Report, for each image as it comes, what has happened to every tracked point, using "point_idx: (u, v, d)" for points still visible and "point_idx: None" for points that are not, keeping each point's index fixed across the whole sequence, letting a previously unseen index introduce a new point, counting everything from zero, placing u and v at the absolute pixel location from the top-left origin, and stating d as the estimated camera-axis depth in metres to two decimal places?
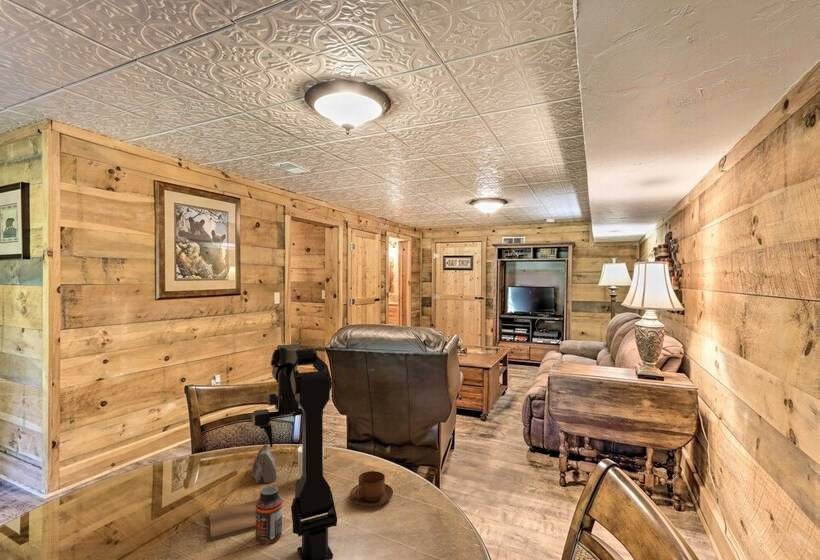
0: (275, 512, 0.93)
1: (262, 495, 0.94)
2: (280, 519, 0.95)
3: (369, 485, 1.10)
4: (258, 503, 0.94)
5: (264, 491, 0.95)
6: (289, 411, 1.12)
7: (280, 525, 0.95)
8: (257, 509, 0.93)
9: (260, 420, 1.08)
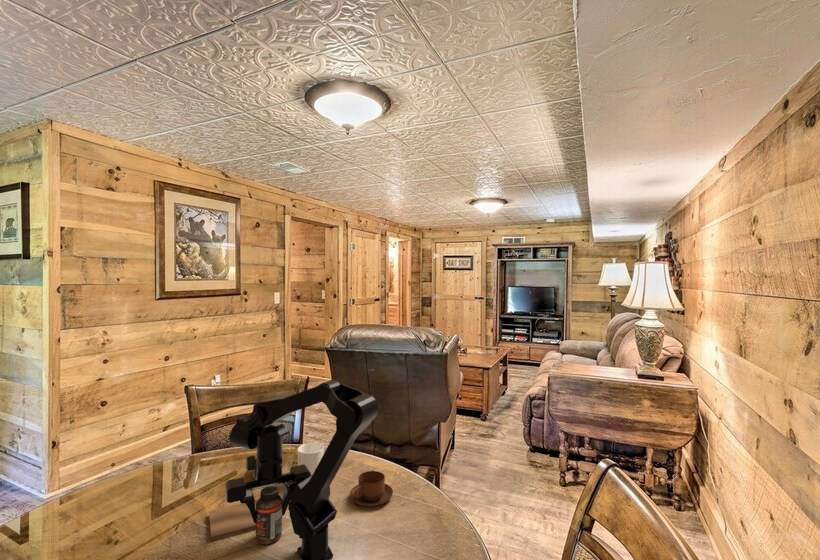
0: (275, 512, 0.93)
1: (262, 495, 0.94)
2: (280, 519, 0.95)
3: (369, 485, 1.10)
4: (258, 503, 0.94)
5: (264, 491, 0.95)
6: (270, 481, 0.93)
7: (280, 525, 0.95)
8: (257, 509, 0.93)
9: (234, 495, 0.89)
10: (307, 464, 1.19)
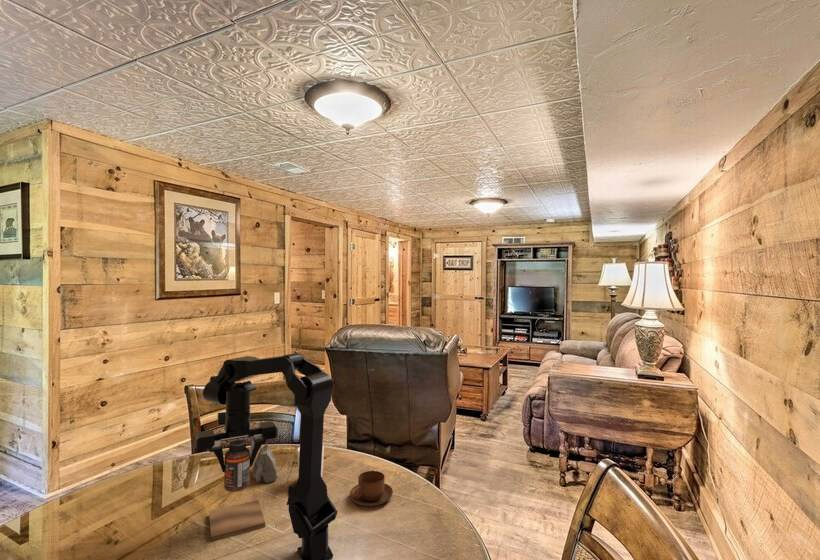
0: (242, 462, 1.00)
1: (230, 446, 1.00)
2: (247, 469, 1.02)
3: (369, 485, 1.10)
4: (226, 454, 1.00)
5: (233, 443, 1.01)
6: (237, 433, 1.00)
7: (247, 475, 1.02)
8: (225, 459, 1.00)
9: (202, 444, 0.96)
10: None
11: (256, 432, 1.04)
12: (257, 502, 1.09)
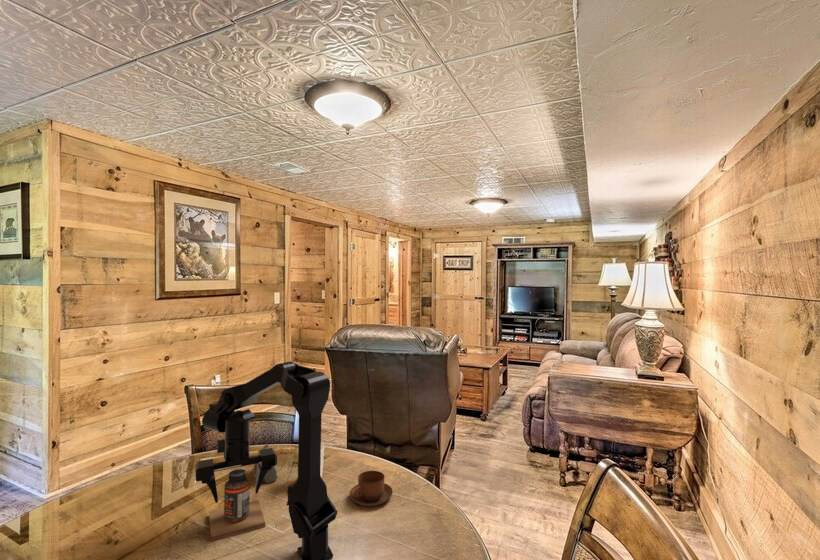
0: (242, 492, 1.00)
1: (230, 477, 1.00)
2: (247, 499, 1.02)
3: (369, 485, 1.10)
4: (226, 484, 1.00)
5: (232, 473, 1.01)
6: (237, 462, 1.00)
7: (247, 505, 1.02)
8: (225, 490, 1.00)
9: (202, 474, 0.96)
10: None
11: None
12: (257, 502, 1.09)
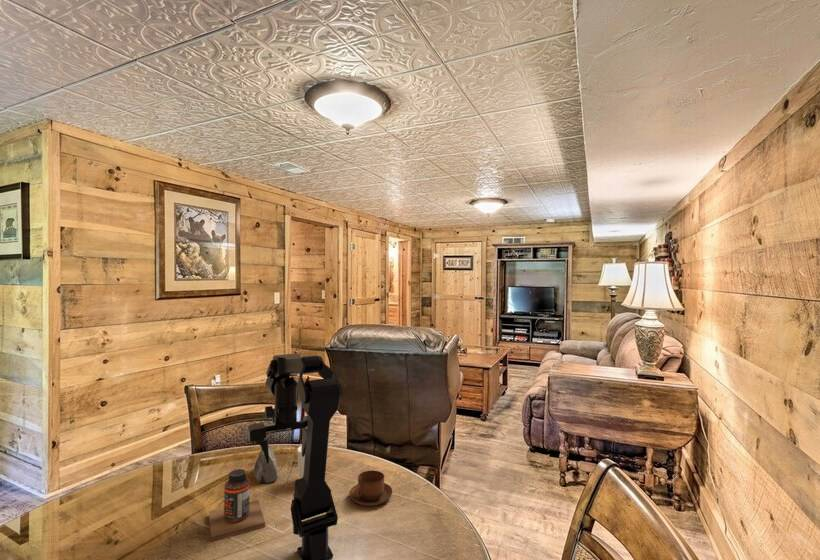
0: (241, 492, 1.00)
1: (230, 477, 1.00)
2: (247, 499, 1.02)
3: (368, 485, 1.10)
4: (226, 484, 1.00)
5: (232, 473, 1.01)
6: (286, 425, 1.06)
7: (247, 505, 1.02)
8: (225, 490, 1.00)
9: (255, 435, 1.02)
10: None
11: None
12: (257, 502, 1.09)
